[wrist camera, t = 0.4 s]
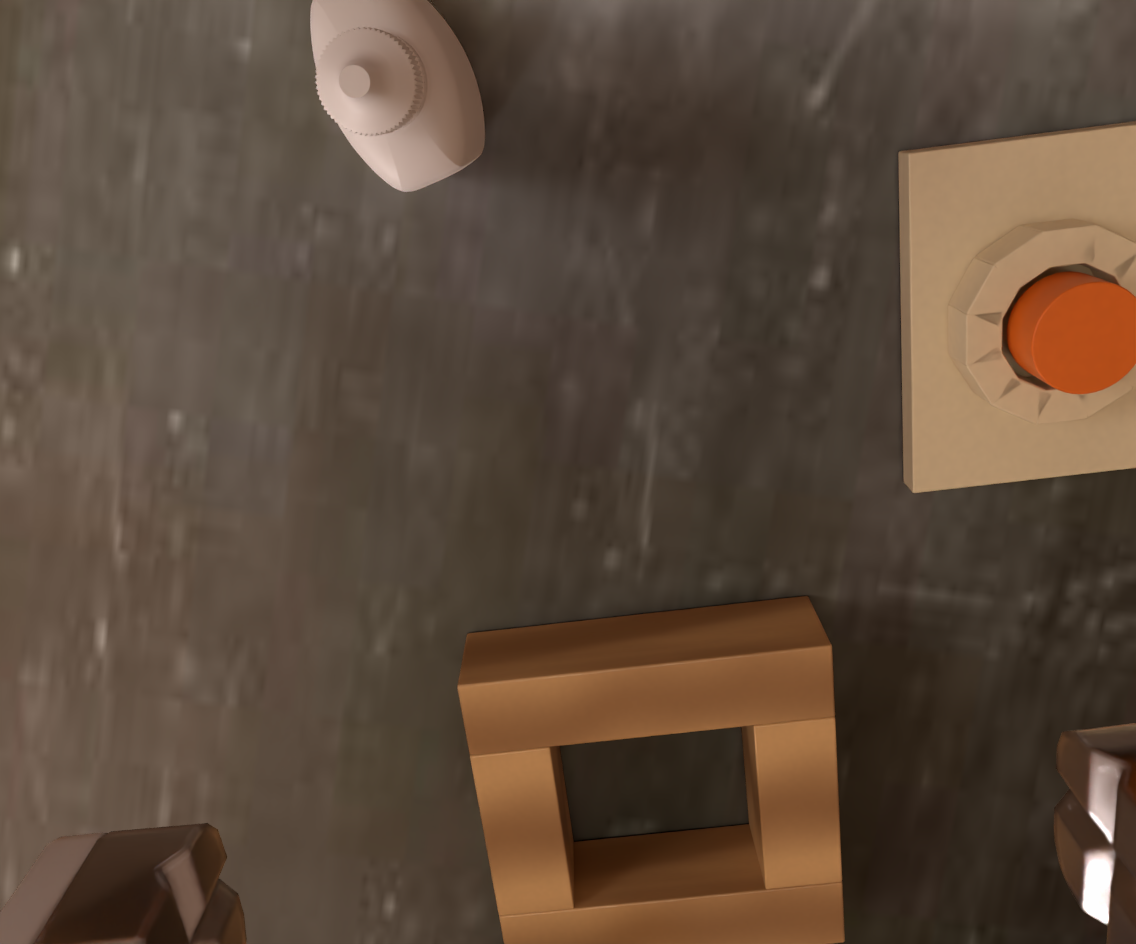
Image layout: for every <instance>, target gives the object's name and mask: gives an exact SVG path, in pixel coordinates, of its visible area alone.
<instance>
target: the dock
mask: <svg viewBox="0 0 1136 944" xmlns="http://www.w3.org/2000/svg"><path fill="white" fill-rule="evenodd" d="M457 688H458V693H459V699H460V704H461V710H462V715H463V721H464V726H465V732H466V737H467V743H468V748H469V753H470V760H471V765H472V771H473V776H474V782H475V787H476V793H477V798H478V803H479V809H480V814H481V820H482V825H483V831H484V836H485V842H486V847H487V853H488V858H489V864H490V869H491V875H492V880H493V886H494V891H495V897H496V902H497V908H498V913H499V918H500V924H501V929H502V935H503V940H504V944H831V943H841V942H844V941H845V935H844V911H843V888H842V865H841V841H840V818H839V794H838V771H837V747H836V724H835V717H834V716H835V702H834V679H833V655H832V645H831V643H830V641H829V639H828V637H827V635H826V633H825V631H824V628H823V626H822V624H821V622H820V620H819V618H818V616H817V614H816V612H815V610H814V608H813V606H812V604H811V602H810V599H809V597H808V596H801V597H792V598H783V599H774V600H765V601H756V602H747V603H738V604H729V605H720V606H711V607H702V608H693V609H684V610H674V611H665V612H656V613H647V614H638V615H629V616H620V617H611V618H602V619H593V620H584V621H575V622H566V623H557V624H548V625H539V626H530V627H521V628H512V629H503V630H494V631H485V632H476V633H468V634H467V637H466V643H465V648H464V654H463V659H462V664H461V670H460V675H459V681H458V686H457ZM732 727H741V728H742V741H743V754H744V767H745V779H746V792H747V805H748V818H749V824H745V825H735V826H725V827H715V828H705V829H696V830H686V831H676V832H666V833H657V834H647V835H637V836H627V837H617V838H608V839H598V840H588V841H578V842H574V840H573V834H572V827H571V820H570V813H569V807H568V800H567V793H566V786H565V780H564V773H563V766H562V759H561V752H560V746H562V745H572V744H581V743H591V742H600V741H609V740H619V739H628V738H638V737H647V736H657V735H666V734H675V733H685V732H694V731H704V730H713V729H723V728H732Z"/></svg>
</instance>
